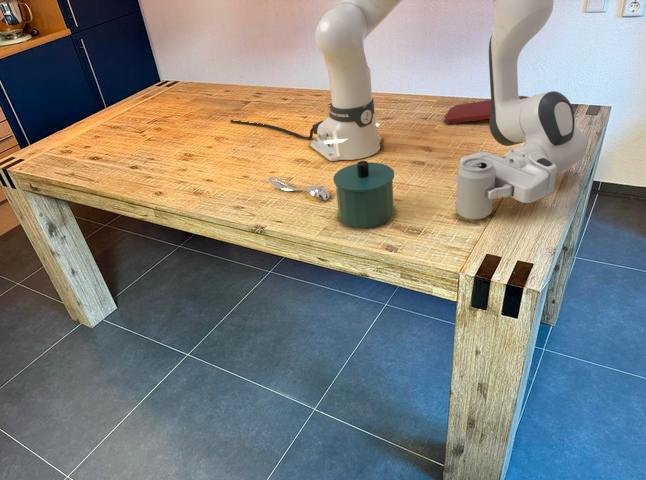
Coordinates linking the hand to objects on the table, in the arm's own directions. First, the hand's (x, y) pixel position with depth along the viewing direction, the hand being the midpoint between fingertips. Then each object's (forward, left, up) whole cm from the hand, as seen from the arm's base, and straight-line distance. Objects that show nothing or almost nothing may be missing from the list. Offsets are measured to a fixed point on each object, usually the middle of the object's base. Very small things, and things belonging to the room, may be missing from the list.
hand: (472, 187), depth 107 cm
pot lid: (-17, -15, +3) cm, 23 cm away
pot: (-17, -15, -7) cm, 24 cm away
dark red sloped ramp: (-33, +47, -7) cm, 58 cm away
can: (0, +1, -7) cm, 7 cm away
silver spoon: (-40, -19, -7) cm, 45 cm away
